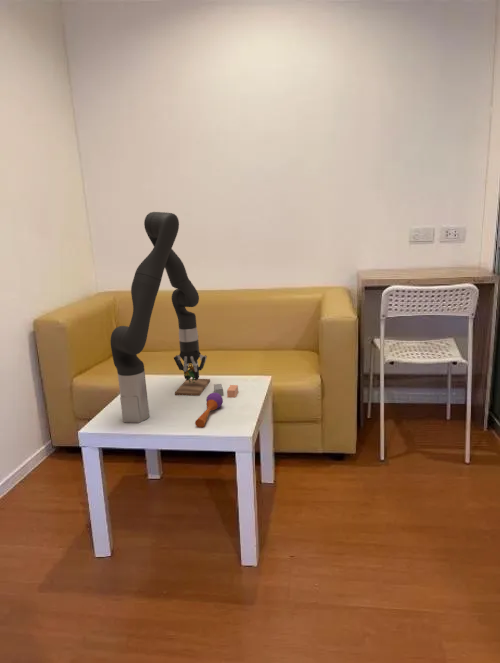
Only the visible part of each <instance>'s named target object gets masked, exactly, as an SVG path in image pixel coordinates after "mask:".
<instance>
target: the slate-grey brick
mask: <svg viewBox="0 0 500 663" xmlns="http://www.w3.org/2000/svg"><path fill="white" fill-rule="evenodd" d="M222 385H223V384H222V383H216V384H213V388H214V389H213V390H214V391H213V393H219V394H220V395H221V396H222V397H223V396H224V388H223V386H222Z"/></svg>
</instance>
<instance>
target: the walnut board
mask: <svg viewBox="0 0 500 663" xmlns="http://www.w3.org/2000/svg"><path fill="white" fill-rule="evenodd" d="M190 381H191V382H190V383H189V380H186V379H185V380H184V381H183V382H182V384H181V385H180V386H179V387H178V388H177V389H176V391H175V392H174V395H175V396H196V397H198V396H201V394H202V393H203V392H204V391H205V389H206V387H207V386H209V384H210V382H211V378H198V380H193V381H192V378H190ZM192 382H195V383H192Z"/></svg>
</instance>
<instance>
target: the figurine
mask: <svg viewBox="0 0 500 663" xmlns="http://www.w3.org/2000/svg"><path fill="white" fill-rule="evenodd" d="M188 371H189V372H186V373H185V375H184V374H183V377H184V376H188V378H189V383H190V382H191V381H190V379H192V381H193V380H195V375H194V372H195V370H194V367H193V365H192V364H191V363H189V364H188ZM192 383H195V382H192Z"/></svg>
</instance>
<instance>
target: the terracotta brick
mask: <svg viewBox="0 0 500 663" xmlns="http://www.w3.org/2000/svg"><path fill="white" fill-rule="evenodd" d="M238 393H239V385H238V384H230V385H229V387H228V388H227V390H226V395H227V398H236V396H237V395H238Z"/></svg>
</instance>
